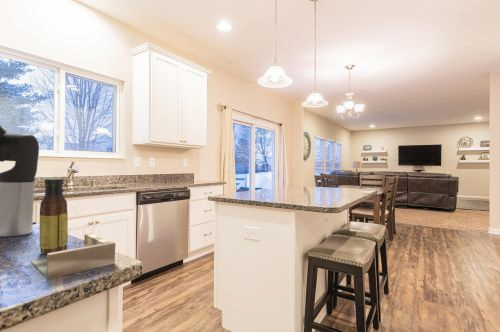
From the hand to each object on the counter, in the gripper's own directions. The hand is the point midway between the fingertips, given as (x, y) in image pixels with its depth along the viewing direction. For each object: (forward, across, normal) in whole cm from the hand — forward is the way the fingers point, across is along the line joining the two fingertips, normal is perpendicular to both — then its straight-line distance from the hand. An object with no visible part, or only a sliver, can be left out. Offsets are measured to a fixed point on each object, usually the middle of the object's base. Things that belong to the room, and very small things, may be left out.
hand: (10, 157), depth 67 cm
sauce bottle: (+11, 0, +25) cm, 27 cm away
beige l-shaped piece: (+11, -13, +25) cm, 30 cm away
